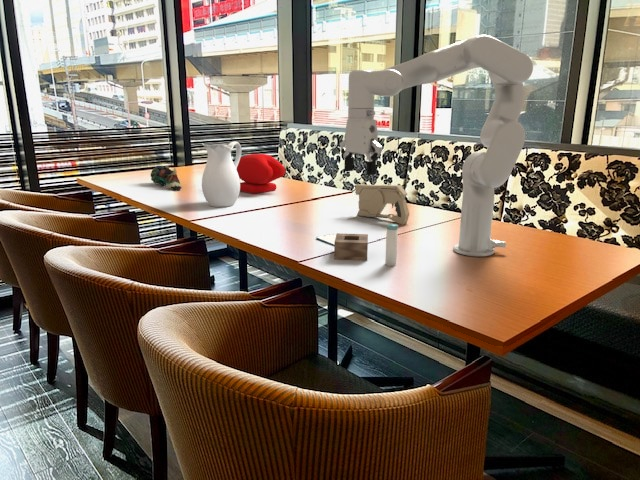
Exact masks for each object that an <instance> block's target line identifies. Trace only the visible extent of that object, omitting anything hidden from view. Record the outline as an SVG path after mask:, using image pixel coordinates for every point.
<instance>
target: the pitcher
mask: <svg viewBox="0 0 640 480" xmlns="http://www.w3.org/2000/svg"><path fill="white" fill-rule="evenodd" d="M201 144H202V146H203V147H204V149H205V150H206V152H207V159H206V163H205V167H204V170H203V173H202V177H201V189H202V194H203V197H204V198H205V200H206V202H207V203H208V205H209V206H211V207H214V208H215V207H216V208H226V207H232V206H233V205H235V204H236V202H237V200H238V198H239V195H240V192H241V191H240V183H241V181H240V180H241V179H240V178H239V175H238V173H237V170H236V169H237V166H238V163H239V161H240V158H241V155H242V149H243V148H242V146H241V144H240V143H239V142H238V141H231V142H229V143H228V144H225V143H223V144H221V143H217V144H216V143H215V144H212V145H210V144H209V145H207V144H204V143H203V142H202V143H201ZM234 146H235V150H236V152H235V153H236V154H235V159H234V161H233V157H232V152H233V151H232V150H233V149H234Z"/></svg>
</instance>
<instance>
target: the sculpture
mask: <svg viewBox="0 0 640 480" xmlns="http://www.w3.org/2000/svg"><path fill="white" fill-rule="evenodd" d="M150 180H151V181H152V182H153V184H157V185H161V186H165V188H166V189H171V190H173V191H175V192H180V191H181V189H182V188H183V187H182V185H181V181H180V179H179V177H178V172H177V168H176V167H174V168H173V170H172V169H170V166H169V165H164V166H163V165H156V166H155V167H154V168H152V170H151V172H150Z"/></svg>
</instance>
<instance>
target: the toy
mask: <svg viewBox="0 0 640 480" xmlns="http://www.w3.org/2000/svg"><path fill="white" fill-rule="evenodd" d="M236 170H237V173H238V175H239V179H240V180H241V181H242V182H241V181H240V192H244V193H248V194H253V195H254V194H261V193H267V192H272V191H276V190H277V184H276V183H274V181H276V180H278V179H280V178H283V177H284V176H285V174H286V168H285V166H284V165H283V164H282V163H281V162H279V160H278V159H276V158H275V157H274V156H271V155H269V154H265V153H245V154H241V158H240V161H239V163H238V166H237V169H236Z"/></svg>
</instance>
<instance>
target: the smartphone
mask: <svg viewBox="0 0 640 480" xmlns="http://www.w3.org/2000/svg"><path fill="white" fill-rule="evenodd" d="M335 238H336V234H334V233H332V234H325V235H320V236H319V235H318V236H317V237H316V240H318V241H320V242H322V243H325V244H328V245H331V246H333V247H334V245H335Z"/></svg>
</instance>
